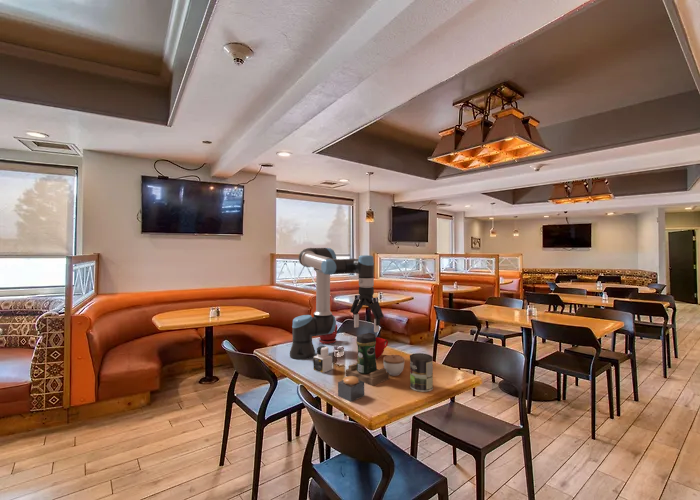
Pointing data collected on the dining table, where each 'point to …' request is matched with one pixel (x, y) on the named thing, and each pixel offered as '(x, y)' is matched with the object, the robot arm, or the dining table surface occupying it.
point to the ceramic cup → (380, 346)
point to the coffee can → (421, 372)
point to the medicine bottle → (322, 360)
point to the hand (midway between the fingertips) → (366, 329)
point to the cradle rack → (368, 375)
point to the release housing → (350, 390)
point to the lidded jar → (393, 364)
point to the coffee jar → (366, 353)
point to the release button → (351, 380)
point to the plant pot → (329, 337)
